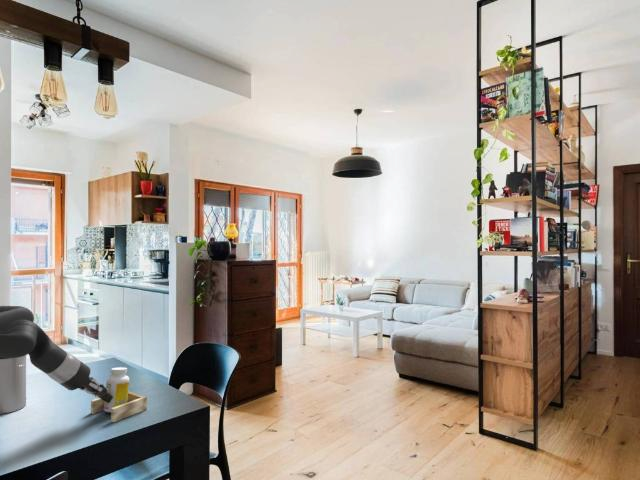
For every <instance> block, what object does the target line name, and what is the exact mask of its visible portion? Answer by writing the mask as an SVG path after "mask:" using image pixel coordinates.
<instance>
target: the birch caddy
mask: <svg viewBox="0 0 640 480" xmlns="http://www.w3.org/2000/svg"><path fill="white" fill-rule="evenodd" d="M147 409H148V397H147V396H146V395H141V394H138V393H136V392H133V391H130V390H128V400H127V403H125V404H122V405H119V406H116V407H113V408H111V412H110V422H111V423H113V422H114V423H116V422H118V421H121V420H123V418H124V419H126V418H129V417H131V416H134V415H136V414H139V413H143V412H144V411H147ZM102 411H104V401H103V400H102V399H100V398H98V397H96V398H95V399H91V400H90V414H91V413H92V415H95V414H98V413H100V412H102ZM97 412H98V413H97ZM94 413H95V414H94Z"/></svg>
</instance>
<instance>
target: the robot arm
mask: <svg viewBox="0 0 640 480" xmlns="http://www.w3.org/2000/svg"><path fill="white" fill-rule="evenodd" d="M33 313H34V312H32V310H30V309H29V308H27V307H25V306H20V305H0V415H2V414H8V413H13V412H15V411H19V410H21V409H23V408H25V407H26V406H27V356H29V360H30V363H31V365H33V366H34V367H35V368H37V369H38V370H40V371H41V372H42V373H44V374H45V375H47V377H49V378H50V379H52V380H53V381H54V382H56V383H57V384H59V385H61V386H62V387H63V388H65V389H67V390H68V391H75V390H77V389H78V390H80V391H83V392H85V393H86V394H89V395H91V396H94V397H96V398H100V399H102V400H103V401H105V402H107V403H109V402H110V401H111V400H112V398H113V396H112V395H110V394H109V393H107V391H108V390H107V389H106V386H104V384H101V383H100V382H98V381H97V379H96V378H94V377H92V376H90V375H91V368H90V367H89V366H88V365H87V364H85V363H84V362H83V361H81V360H80V359H78V358H77V357H76V356H74V355H73V354H71V353H69V352H67V351H65V349H63V348H62V347H60V345H57V344H56V343H54V341H52V339H51V338H50V337H49V335H48V334H47V333H46V331H44V330H43V328H41V326H39V325H38V324H37V323H35V322H34V320H35V317H34V314H33Z"/></svg>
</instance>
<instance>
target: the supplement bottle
mask: <svg viewBox="0 0 640 480" xmlns="http://www.w3.org/2000/svg"><path fill="white" fill-rule="evenodd" d="M127 373H128V368H127V367H124V366H123V367H121V366H120V367H112V368H111V369H110V375H111V376H109V377H107V379H106V383H105V388H106V389H107V390H108V391H107V393H109V394H110V395H112V396H113V398H112V400H111V401H110V402H109V403H107V402H105V401H104V410H103V411H104V412H106V413H111V408H113V407H116V406H119V405H122V404H125V403H127V400H128V391H129V390H130V389H129V388H130V387H129V385H130V377H129V375H127Z"/></svg>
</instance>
